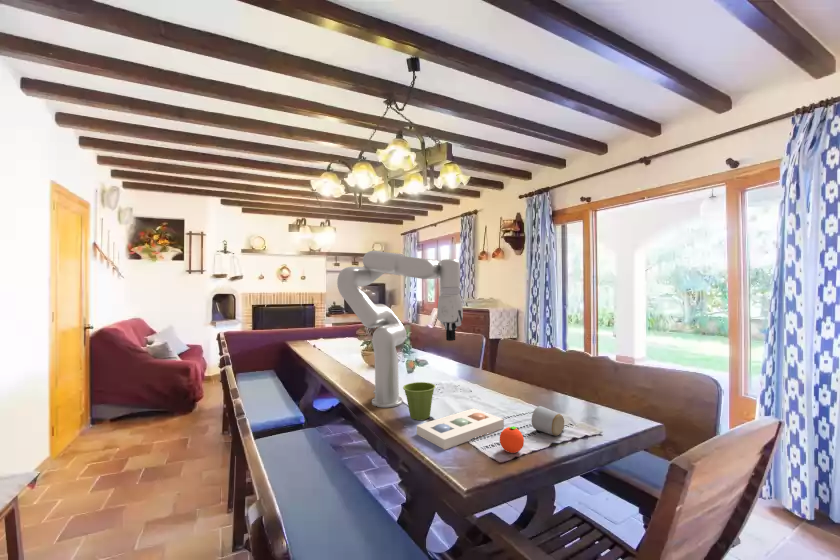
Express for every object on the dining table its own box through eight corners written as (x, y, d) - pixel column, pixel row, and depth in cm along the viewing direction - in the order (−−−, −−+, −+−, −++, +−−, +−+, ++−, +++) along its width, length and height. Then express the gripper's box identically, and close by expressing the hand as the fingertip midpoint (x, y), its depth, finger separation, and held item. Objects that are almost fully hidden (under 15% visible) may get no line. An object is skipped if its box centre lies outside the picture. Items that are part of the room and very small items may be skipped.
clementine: (508, 443, 117) (508, 420, 117) (529, 449, 113) (529, 425, 113) (495, 452, 111) (495, 428, 111) (517, 459, 107) (517, 434, 107)
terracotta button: (468, 424, 132) (468, 414, 132) (478, 421, 135) (478, 411, 135) (478, 428, 128) (478, 418, 128) (487, 424, 131) (487, 415, 131)
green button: (451, 429, 127) (451, 420, 127) (461, 426, 130) (461, 417, 130) (460, 434, 124) (460, 424, 124) (470, 430, 126) (470, 421, 126)
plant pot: (423, 409, 149) (423, 380, 149) (442, 418, 139) (441, 387, 139) (397, 415, 142) (397, 385, 142) (415, 425, 132) (414, 393, 132)
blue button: (432, 436, 123) (432, 426, 123) (443, 432, 125) (443, 422, 125) (441, 441, 119) (441, 430, 119) (452, 437, 122) (452, 427, 122)
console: (416, 434, 125) (416, 425, 125) (474, 416, 140) (474, 408, 140) (444, 449, 114) (444, 439, 114) (503, 428, 129) (503, 419, 129)
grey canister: (553, 439, 119) (553, 415, 119) (530, 431, 126) (530, 408, 126) (571, 431, 126) (571, 407, 126) (548, 424, 133) (548, 401, 133)
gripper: (430, 291, 149) (430, 338, 149) (455, 292, 137) (456, 344, 137) (444, 291, 154) (445, 336, 154) (471, 292, 142) (471, 341, 142)
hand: (450, 340), depth 145 cm, fingers closed
